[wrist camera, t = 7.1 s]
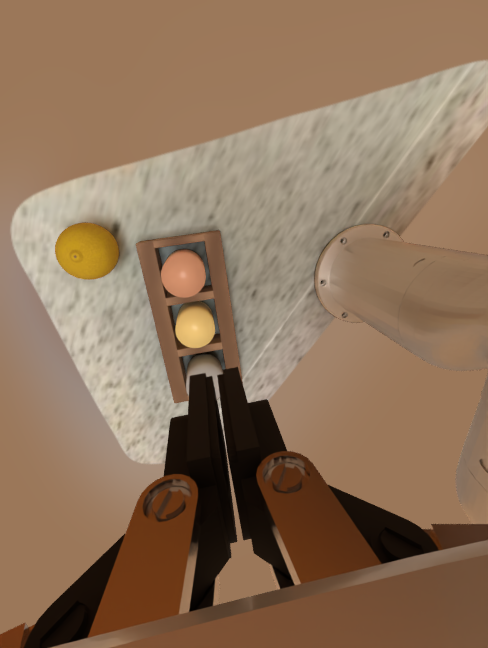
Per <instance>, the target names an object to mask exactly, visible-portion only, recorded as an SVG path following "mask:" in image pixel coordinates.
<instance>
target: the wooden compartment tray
mask: <svg viewBox="0 0 488 648" xmlns="http://www.w3.org/2000/svg"><path fill="white" fill-rule="evenodd" d="M200 241H204V242H205V248H206V254H207V260H208V266H209V272H210V278H211V284H212V285H209V286H203V288H202V289H201V290H200V291H199V292H198V293H197V294H196V295H194V296H191V297H187V298H182V297H177V296H174V295H173V294H171V293H170V292H168V291H167V290H166V288H165V287H164V285H163V283H162V280H161V271H162V263H161V259H160V254H159V250H158V248H159V247H166V246H173V245H180V244H186V243H193V242H200ZM136 247H137V252H138V256H139V260H140V264H141V268H142V272H143V276H144V280H145V284H146V289H147V293H148V297H149V301H150V305H151V309H152V313H153V317H154V321H155V326H156V330H157V334H158V338H159V342H160V346H161V350H162V354H163V358H164V363H165V367H166V371H167V375H168V379H169V383H170V387H171V391H172V395H173V400H174V403H178V402H184V401H189V396H188V394H187V391H186V380H187V377H186V373H185V368H184V364H183V359H182V356H186V355H192V354H197V353H203V352H208V351H214V350H220V349H223V355H224V361H225V367H226V369H229V368H235V367H238V369H239V373H240V377H241V380H242V376H241V369H240V362H239V355H238V349H237V342H236V335H235V329H234V322H233V315H232V308H231V302H230V295H229V288H228V281H227V275H226V268H225V261H224V255H223V248H222V241H221V234H220V231H219V230H216V231H209V232H202V233H195V234H188V235H181V236H174V237H167V238H160V239H153V240H146V241H140V242H138V243H136ZM213 298H214V301H215V307H216V313H217V319H218V325H219V331H220V333H219V334H214V337H213V339H212V340H211V341H210V342H209V343H208V344H207V345H205V346H203V347H200V348H190V347H187V346H185V345H183V344H182V343H181V342H180V341H178V338H177V336H176V332H175V328H176V327H175V323H174V318H173V313H172V309H171V305H176V304H182V303H188V302H195V301H201V300H207V299H213ZM242 384H243V382H242Z"/></svg>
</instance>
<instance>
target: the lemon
mask: <svg viewBox="0 0 488 648" xmlns="http://www.w3.org/2000/svg"><path fill="white" fill-rule="evenodd" d="M55 254H56V258H57V260H58V262H59V264H60V265H61V267H62V268H63V269H64V270H65V271H66V272H68V273H69V274H70V275H72V276H75V277H77V278H81V279H97V278H101V277H103V276H105V275H107V274H108V273H110V272H111V271H112V270H113V269H114V267H115V265H116V264H117V261H118V257H119V248H118V245H117V242H116V240H115V239H114V237H113V236H112V235H111V233H110V232H109V231H107V230H106V229H104V228H103V227H101V226H99V225H96V224H92V223H78V224H75V225H72V226H69V227H68V228H67V229H65V230H64V231H63V232H62V233H61V234H60V236H59V237H58V239H57V242H56V245H55Z"/></svg>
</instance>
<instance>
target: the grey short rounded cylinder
mask: <svg viewBox="0 0 488 648" xmlns="http://www.w3.org/2000/svg"><path fill="white" fill-rule="evenodd" d="M202 373H206V377H209V376H212V377H213V382H214V387H215V393H216V398H217V400H218V399H219V398H220V393H219V385H218V378H217V375H219V374H223V372H222V366H221V363H220V361H219V360H218V359H217V358H216V357H215V356H213V355H210V354H200V355H197V356H195V357H194V358H192V359H191V360H190V362H189V364H188V366H187V380H186V391H187V394H188V396H189V378H190V376H191V375H196V374H202Z"/></svg>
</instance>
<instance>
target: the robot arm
mask: <svg viewBox="0 0 488 648" xmlns="http://www.w3.org/2000/svg"><path fill="white" fill-rule="evenodd" d="M383 233H384V235H383ZM341 239H342V242H341V243H340V240H341ZM321 280H322V283H320V281H321ZM315 288H316V293H317V296H318V298H319V301H320V302H321V304H322V305H323V307H324V308H325V309H326V310H327V311H328V312H329V313H330V314H332V315H333V316H335V317H336V318H338V319H340V320H343V321H347V322H353V323H360V322H366V323H367V324H369V325H370V326H372V327H373V328H375V329H376V330H378V331H379V332H381V333H382V334H384V335H386V336H387V337H389V338H390V339H391V340H393V341H394V342H396V343H398V344H399V345H401V346H402V347H404V348H405V349H407V350H408V351H410V352H411V353H413V354H414V355H416V356H418V357H419V358H421V359H422V360H424V361H426V362H428V363H429V364H431V365H434V366H437V367H439V368H443V369H448V370H454V371H474V370H481V369H488V255H484V254H477V253H469V252H463V251H457V250H450V249H444V248H437V247H430V246H424V245H417V244H411V243H404V241H403V240H402V239H401V237H400V236H399V235H398V234H397V233H395V232H394V231H393V230H391V229H389V228H387V227H384V226H381V225H375V224H363V225H357V226H354V227H351V228H348V229H346V230H345V231H343V232H341V233H340V234H338V235H337V236H336V237H335V238H334V239H332V240H331V242H330V243H329V244H328V245H327V246H326V248H325V249H324V251H323V253H322V254H321V256H320V258H319V261H318V264H317V266H316V272H315ZM342 313H343V314H342ZM217 378H218V385H219V393H220V401H221V408H222V416H223V423H224V431H225V439H226V446H227V453H228V459H229V465H230V470H231V475H232V481H233V486H234V492H235V497H236V502H237V508H238V513H239V519H240V524H241V529H242V535H243V540H247V539H252V545H253V551H254V553H255V554H256V555H257V556H259V557H260V558H262V559H263V560H265V561H266V562H268V563H269V565H270V570H271V574H272V577H273V579H274V582H275V585H276V588H277V590H275V591H271V592H267V593H263V594H259V595H255V596H251V597H247V598H243V599H239V600H235V601H231V602H227V603H223V604H219V605H218V601H219V585H220V584H219V575H218V574H219V573H220V571H221V570H222V568H223V567H224V566H225V564H226V563H227V561H228V560H229V558H231V549H230V543H234V542H237V535H236V527H235V519H234V511H233V503H232V496H231V488H230V479H229V471H228V463H227V455H226V448H225V441H224V436H223V430H222V425H221V420H220V414H219V409H218V403H217V398H216V393H215V387H214V382H213V377H212V376H209V377H206V373H202V374H196V375H191V376H190V378H189V406H188V415H184V416H179V417H174V418H171V421H170V428H169V436H168V445H167V453H166V461H165V470H164V477H162V478H160V479H157V480H156V481H154V482H153V483H152V484H150V485H149V486H148V487H147V488H146V489H145V490H144V491H143V492H142V494H141V496H140V497H139V499H138V501H137V504H136V506H135V509H134V512H133V515H132V517H131V520H130V523H129V525H128V528H127V531H126V534H124V535H123V536H122V537H121V538H120V539H119V540H118V541H117V542H116V543H115V544H114V545H113V546H112V547H111V548H110V549H109V550H108V551H107V552H106V553H104V554H103V555H102V556H101V557H100V558H99V559H98V560H97V561H96V562H95V563H94V564H93V565H92V566H91V567H90V568H89V569H88V570H87V571H86V572H85V573H84V574H83V575H82V576H81V577H80V578H79V579H78V580H77V581H76V582H74V583H73V584H72V585H71V586H70V588H68V589H67V590H66V591H65V592H64V593H63V594H62V595H61V596H60V597H59V598H58V599H57V600H56V601H55V602H54V603H53V604H52V605H51V606H50V607H49V608H48V609H47V610H46V611H45V612H44V614H43V615H42V616H41V617H40V618H39V619H38V621H37V623H36V624H35V625H32V626H31V627H28V626H27V624H26V623H23V624H21V625H19V626H17V627H14V628H13V629H10V630H8V631H6V632H4V633H2V634H0V648H488V374H487V377H486V381H485V384H484V387H483V390H482V393H481V399H480V402H479V404H478V407H477V410H476V413H475V415H474V418H473V421H472V424H471V426H470V429H469V433H468V435H467V437H466V440H465V443H464V446H463V450H462V452H461V455H460V459H459V462H458V466H457V470H456V491H457V495H458V499H459V502H460V504H461V506H462V508H463V510H464V512H465V514H466V515H467V517H468V518H469V519H470V521H471V522H472V524H431V528H430V529H421V528H420V527H419V526H417V525H416V524H414V523H412V522H410V521H409V520H406V519H404V518H402V517H400V516H398V515H395V514H393V513H391V512H388V511H386V510H384V509H382V508H379V507H377V506H375V505H373V504H370V503H368V502H366V501H364V500H361V499H359V498H357V497H354V496H352V495H350V494H348V493H345V492H343V491H341V490H339V489H336V488H334V487H332V486H330V485H327V483H326V482H325V480H324V479H323V478H322V476H321V475H320V473H319V472H318V470H317V469H316V467H315V466H314V464H313V463H312V462H311V461H310V460H309V459H308V458H307V457H305V456H303V455H301V454H299V453H296V452H291V451H287V449H286V447H285V444H284V442H283V439H282V436H281V434H280V431H279V428H278V426H277V423H276V421H275V418H274V415H273V413H272V410H271V407H270V405H269V402H268V400H267V399H266V400H261V401H256V402H251V403H248V402H247V399H246V395H245V391H244V388H243V384H242V380H241V377H240V373H239V369H238V367H235V368H229V369H224V370H223V374H219V375H217Z"/></svg>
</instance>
